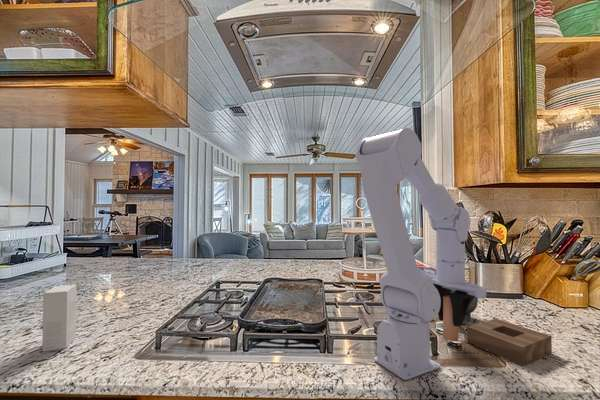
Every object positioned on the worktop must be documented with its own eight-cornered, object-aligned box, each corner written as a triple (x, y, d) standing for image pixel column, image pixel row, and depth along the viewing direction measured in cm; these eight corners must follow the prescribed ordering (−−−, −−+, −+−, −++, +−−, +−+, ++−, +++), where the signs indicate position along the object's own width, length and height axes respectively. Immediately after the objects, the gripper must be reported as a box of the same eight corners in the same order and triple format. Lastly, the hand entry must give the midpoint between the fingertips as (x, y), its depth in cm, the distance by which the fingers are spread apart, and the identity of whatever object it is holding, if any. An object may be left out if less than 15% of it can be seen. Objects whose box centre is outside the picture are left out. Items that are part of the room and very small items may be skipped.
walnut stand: (523, 366, 57) (522, 347, 57) (467, 342, 66) (467, 326, 67) (551, 353, 62) (551, 336, 62) (496, 333, 72) (495, 318, 72)
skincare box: (53, 340, 66) (54, 285, 67) (76, 337, 68) (77, 284, 68) (40, 352, 61) (42, 293, 61) (66, 349, 62) (67, 291, 63)
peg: (452, 342, 64) (452, 299, 64) (440, 336, 67) (440, 296, 67) (461, 339, 66) (461, 297, 66) (448, 334, 68) (448, 294, 68)
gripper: (494, 264, 62) (495, 331, 62) (434, 254, 75) (434, 309, 75) (473, 267, 59) (474, 337, 58) (414, 256, 72) (414, 314, 71)
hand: (450, 322), depth 66 cm, fingers closed on peg, 3 cm apart
